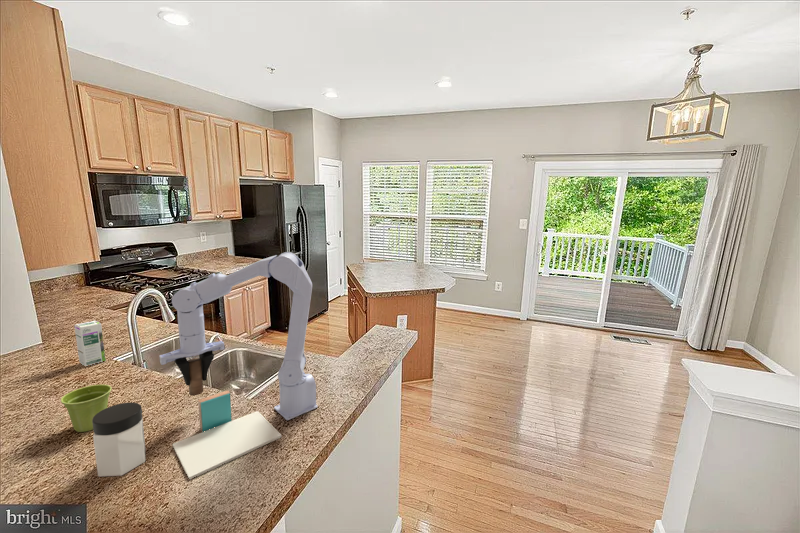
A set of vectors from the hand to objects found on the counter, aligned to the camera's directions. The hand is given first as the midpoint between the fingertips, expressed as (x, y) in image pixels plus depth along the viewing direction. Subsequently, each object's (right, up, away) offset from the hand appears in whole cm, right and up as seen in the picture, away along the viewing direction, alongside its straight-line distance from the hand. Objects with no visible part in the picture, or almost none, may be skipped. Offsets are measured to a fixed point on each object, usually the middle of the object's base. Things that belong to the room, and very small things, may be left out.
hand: (195, 381), depth 90 cm
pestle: (0, -3, 0) cm, 3 cm away
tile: (+7, -11, -2) cm, 13 cm away
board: (+13, -12, -8) cm, 19 cm away
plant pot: (-25, -10, -4) cm, 27 cm away
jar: (-6, -13, -16) cm, 21 cm away
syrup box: (-55, -4, +30) cm, 63 cm away
